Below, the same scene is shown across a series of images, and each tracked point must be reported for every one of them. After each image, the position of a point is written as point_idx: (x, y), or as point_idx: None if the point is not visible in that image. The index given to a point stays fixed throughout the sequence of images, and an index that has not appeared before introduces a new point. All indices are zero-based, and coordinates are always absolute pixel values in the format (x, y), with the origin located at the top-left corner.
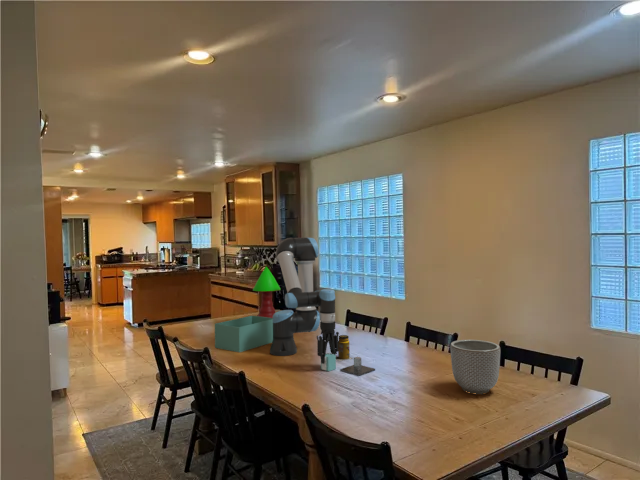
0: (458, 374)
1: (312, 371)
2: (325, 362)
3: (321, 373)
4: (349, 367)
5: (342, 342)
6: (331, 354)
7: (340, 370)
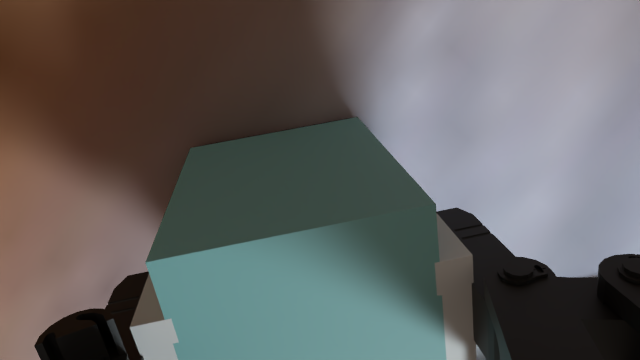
0: None
1: (16, 149)
2: None
3: (99, 298)
4: None
5: None
6: (416, 342)
7: None
